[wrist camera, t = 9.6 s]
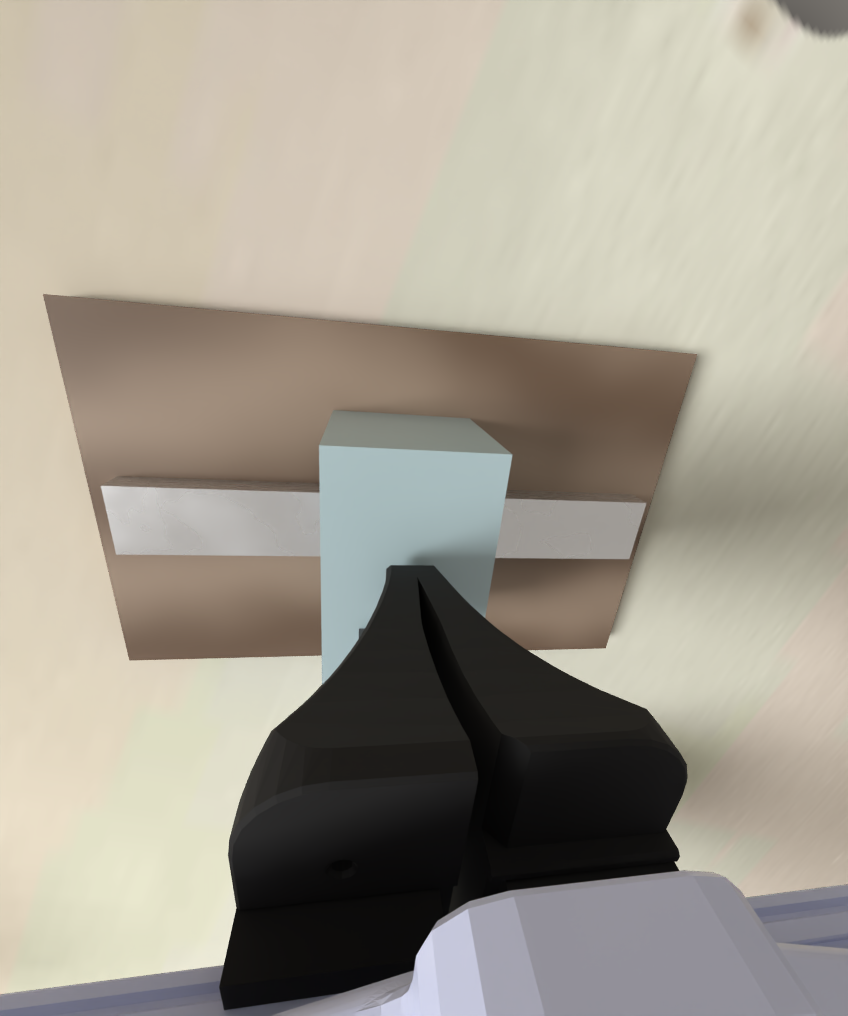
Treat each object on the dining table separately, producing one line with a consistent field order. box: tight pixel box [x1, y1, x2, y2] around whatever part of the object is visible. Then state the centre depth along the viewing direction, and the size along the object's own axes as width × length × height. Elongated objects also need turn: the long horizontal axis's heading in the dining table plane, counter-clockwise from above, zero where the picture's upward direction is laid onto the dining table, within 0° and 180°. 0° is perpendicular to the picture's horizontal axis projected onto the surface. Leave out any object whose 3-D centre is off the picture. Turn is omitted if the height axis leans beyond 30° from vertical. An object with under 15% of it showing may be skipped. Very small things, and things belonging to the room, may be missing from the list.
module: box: [319, 410, 512, 684], centre depth 14 cm, size 8×5×6 cm, turn 175°
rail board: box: [43, 294, 697, 660], centre depth 17 cm, size 14×22×2 cm, turn 85°
